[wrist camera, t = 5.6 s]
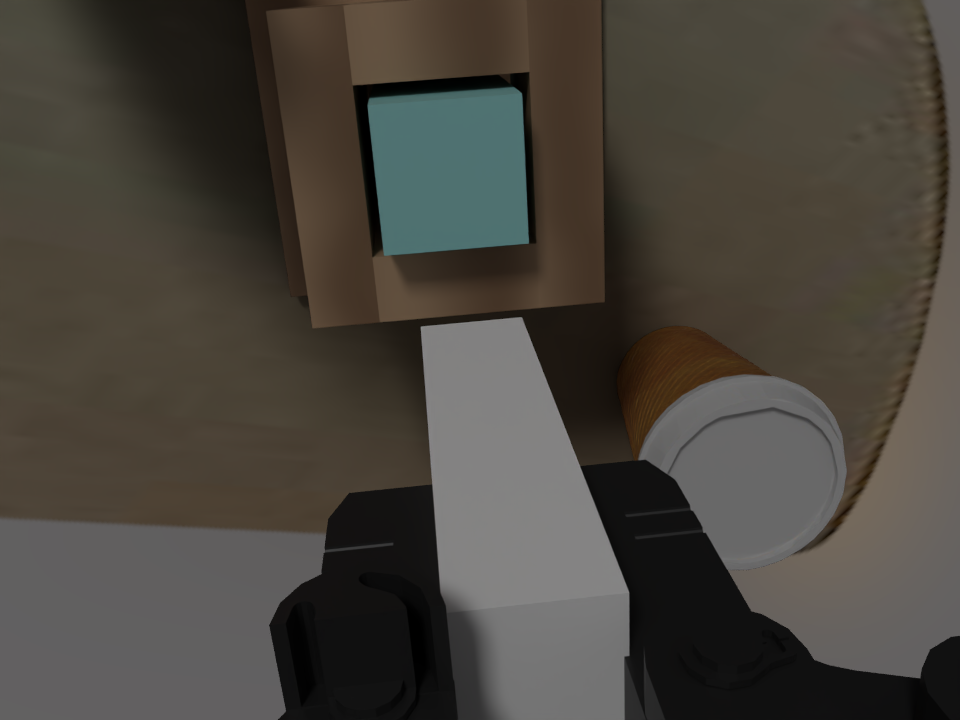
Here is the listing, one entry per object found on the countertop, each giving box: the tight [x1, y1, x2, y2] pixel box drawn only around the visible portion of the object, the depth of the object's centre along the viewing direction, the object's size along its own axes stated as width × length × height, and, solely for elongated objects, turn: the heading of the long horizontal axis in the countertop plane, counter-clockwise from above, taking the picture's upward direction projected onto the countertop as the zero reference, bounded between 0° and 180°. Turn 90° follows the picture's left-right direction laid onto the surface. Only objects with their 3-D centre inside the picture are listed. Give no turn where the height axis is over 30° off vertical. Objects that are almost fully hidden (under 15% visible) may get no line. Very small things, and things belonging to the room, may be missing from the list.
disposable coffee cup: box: [617, 326, 847, 570], centre depth 44 cm, size 10×10×12 cm
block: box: [368, 74, 529, 256], centre depth 35 cm, size 5×5×12 cm
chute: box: [245, 0, 605, 328], centre depth 37 cm, size 16×16×13 cm
